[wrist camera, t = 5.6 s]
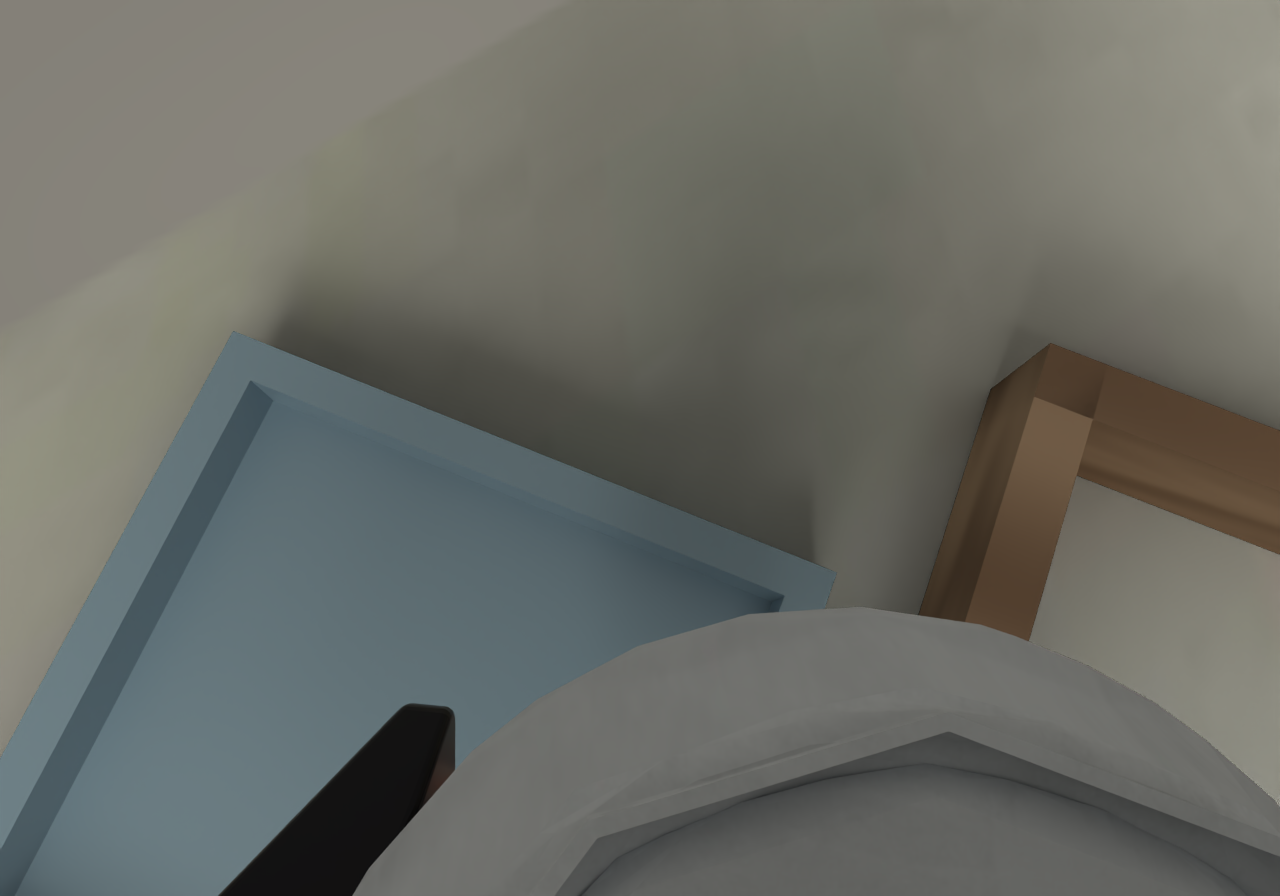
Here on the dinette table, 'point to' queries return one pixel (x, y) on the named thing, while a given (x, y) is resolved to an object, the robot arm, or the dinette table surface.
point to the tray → (331, 620)
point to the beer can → (840, 777)
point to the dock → (1089, 478)
